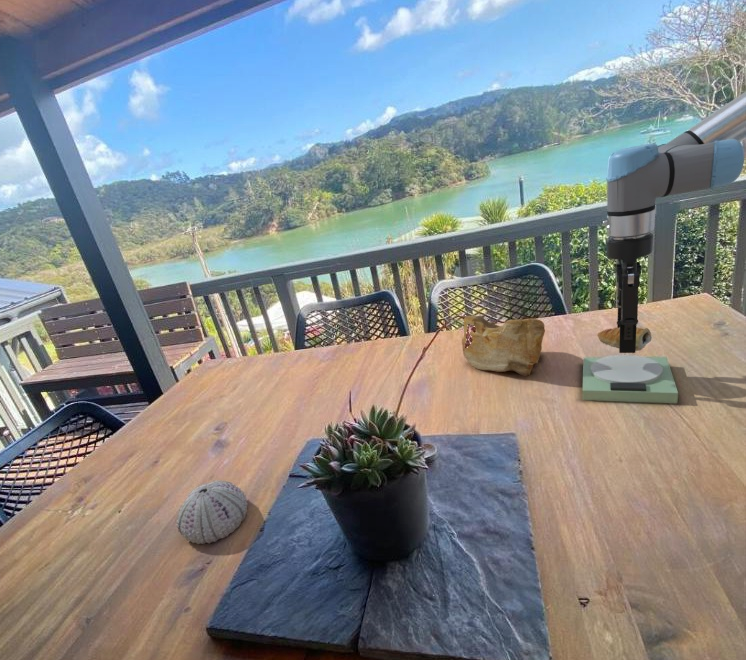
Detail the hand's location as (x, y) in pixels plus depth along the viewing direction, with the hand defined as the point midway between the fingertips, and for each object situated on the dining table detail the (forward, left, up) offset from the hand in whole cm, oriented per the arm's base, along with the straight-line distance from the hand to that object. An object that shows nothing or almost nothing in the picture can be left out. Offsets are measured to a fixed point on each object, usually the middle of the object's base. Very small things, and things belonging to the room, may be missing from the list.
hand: (625, 343), depth 92 cm
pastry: (0, 0, 0) cm, 0 cm away
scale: (0, +1, -10) cm, 10 cm away
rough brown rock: (+24, -9, -10) cm, 27 cm away
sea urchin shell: (+69, +59, -10) cm, 91 cm away
